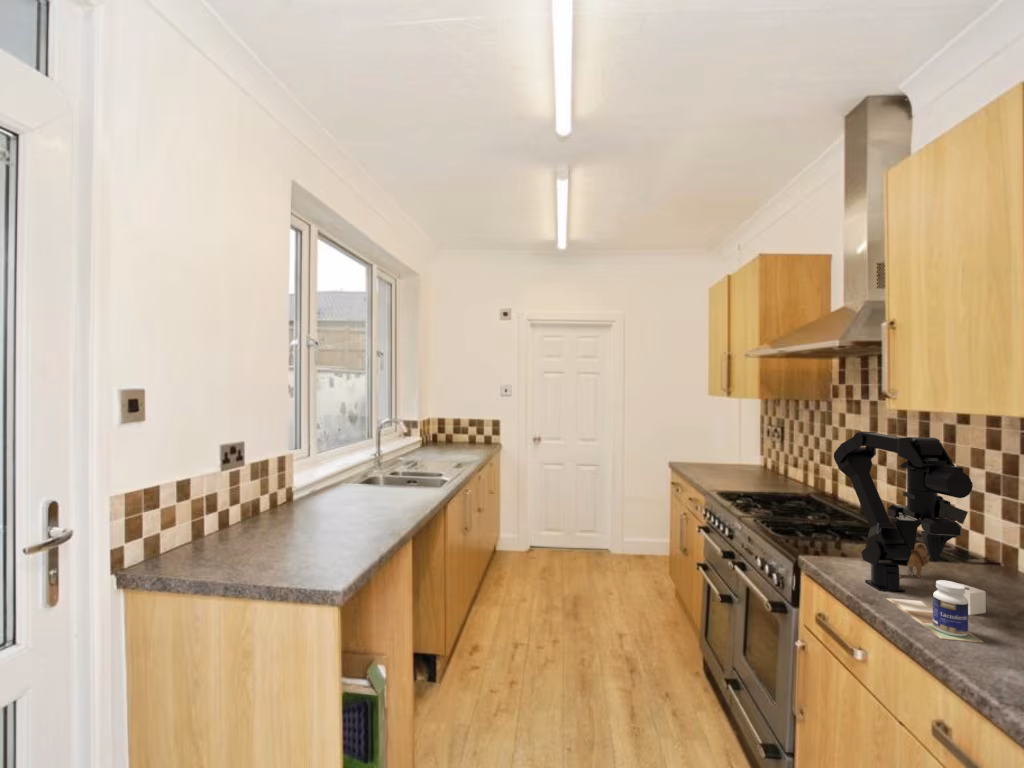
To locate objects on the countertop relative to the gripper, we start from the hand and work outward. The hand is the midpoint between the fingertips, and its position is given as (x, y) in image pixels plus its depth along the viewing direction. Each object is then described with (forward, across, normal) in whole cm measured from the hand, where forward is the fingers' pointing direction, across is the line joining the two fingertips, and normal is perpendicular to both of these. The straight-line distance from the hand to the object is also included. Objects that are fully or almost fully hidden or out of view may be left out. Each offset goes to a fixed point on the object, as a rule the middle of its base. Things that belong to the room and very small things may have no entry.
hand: (922, 555), depth 122 cm
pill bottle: (+12, -14, +2) cm, 19 cm away
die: (+12, 0, -9) cm, 15 cm away
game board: (+12, -8, +2) cm, 14 cm away
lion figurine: (+12, +23, -8) cm, 27 cm away
